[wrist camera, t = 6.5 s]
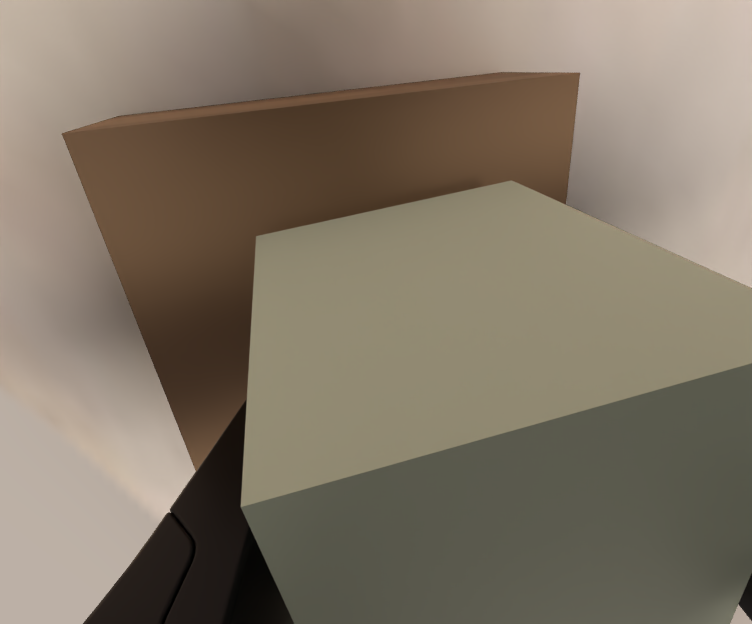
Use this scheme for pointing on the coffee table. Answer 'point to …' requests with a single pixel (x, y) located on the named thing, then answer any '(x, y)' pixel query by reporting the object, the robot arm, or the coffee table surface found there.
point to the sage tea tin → (497, 419)
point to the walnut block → (289, 199)
